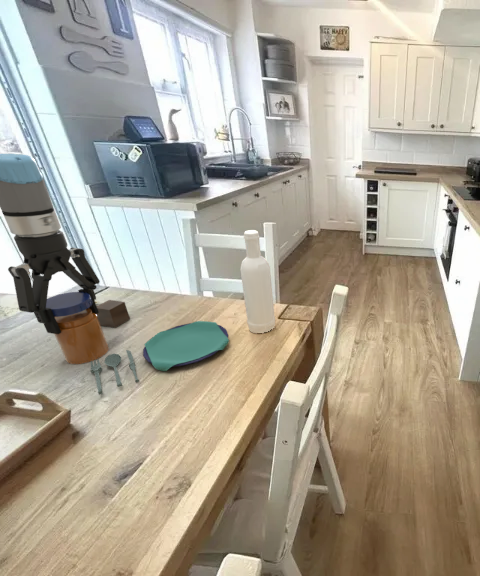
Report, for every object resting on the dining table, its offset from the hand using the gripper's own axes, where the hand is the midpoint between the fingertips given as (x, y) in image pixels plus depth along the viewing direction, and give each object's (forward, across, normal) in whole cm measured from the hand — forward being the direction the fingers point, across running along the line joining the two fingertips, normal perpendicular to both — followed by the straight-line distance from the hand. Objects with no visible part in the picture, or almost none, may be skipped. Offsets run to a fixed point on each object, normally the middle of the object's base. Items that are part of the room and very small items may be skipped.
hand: (74, 322), depth 79 cm
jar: (+9, 0, 0) cm, 9 cm away
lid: (-6, 0, 0) cm, 6 cm away
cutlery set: (+9, +4, -19) cm, 22 cm away
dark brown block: (+9, +14, +6) cm, 18 cm away
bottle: (+9, +22, -36) cm, 43 cm away
